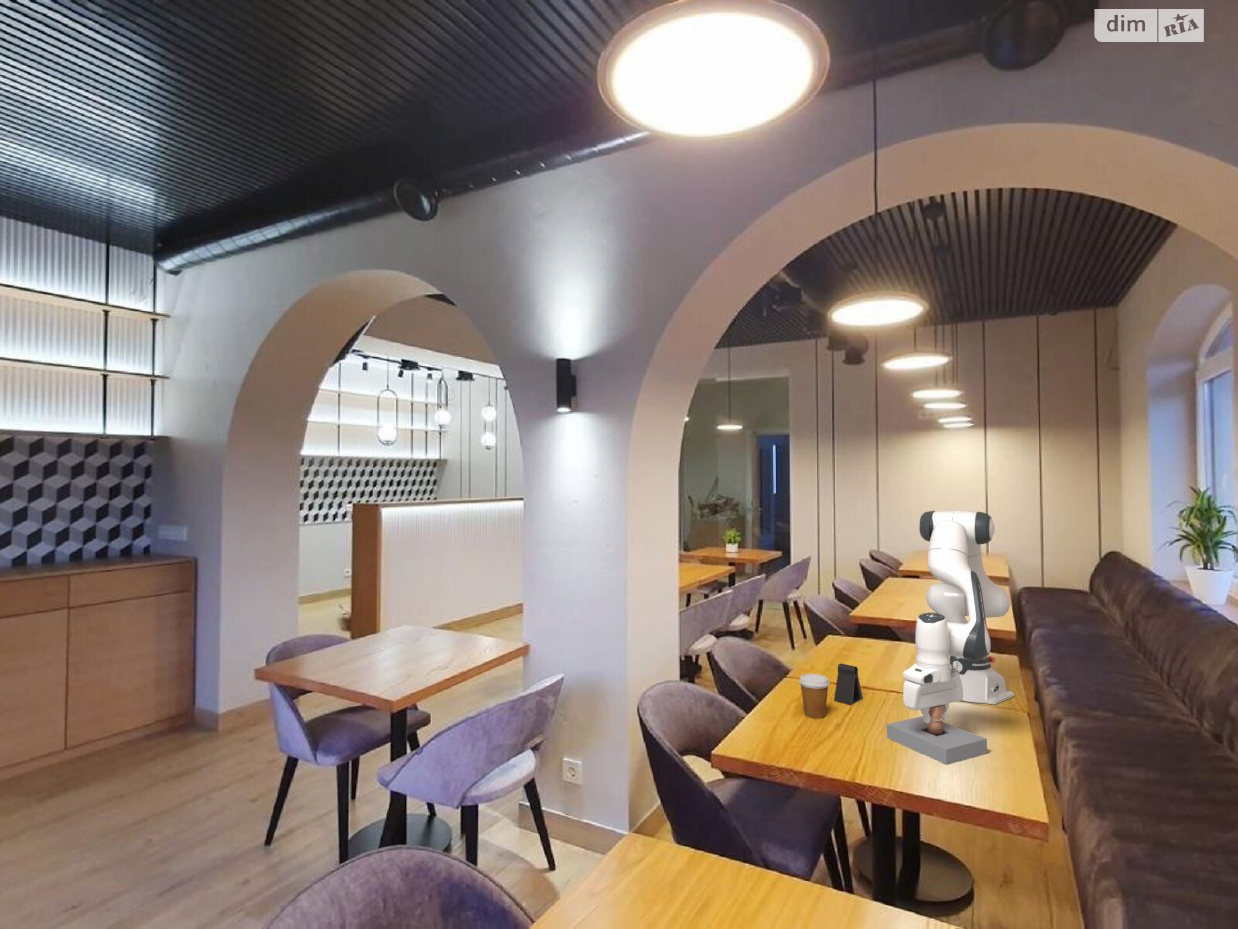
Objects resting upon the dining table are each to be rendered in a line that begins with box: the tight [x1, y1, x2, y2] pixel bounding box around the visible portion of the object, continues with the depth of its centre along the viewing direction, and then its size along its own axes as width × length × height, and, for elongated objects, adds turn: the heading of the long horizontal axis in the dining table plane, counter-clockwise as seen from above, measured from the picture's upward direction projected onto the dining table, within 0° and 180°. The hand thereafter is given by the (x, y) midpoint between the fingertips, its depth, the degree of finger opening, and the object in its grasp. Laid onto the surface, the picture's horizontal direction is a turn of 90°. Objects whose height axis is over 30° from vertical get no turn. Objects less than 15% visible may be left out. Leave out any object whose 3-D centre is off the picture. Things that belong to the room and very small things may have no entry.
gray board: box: [886, 715, 988, 766], centre depth 182 cm, size 16×20×4 cm
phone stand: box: [833, 663, 864, 706], centre depth 221 cm, size 9×6×12 cm, turn 133°
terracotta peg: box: [927, 705, 944, 736], centre depth 182 cm, size 4×4×8 cm
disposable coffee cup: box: [798, 673, 830, 719], centre depth 207 cm, size 10×10×12 cm
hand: (934, 720), depth 182 cm, fingers closed on terracotta peg, 4 cm apart
